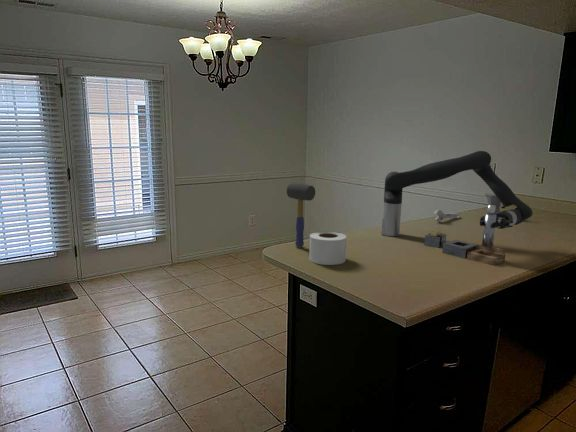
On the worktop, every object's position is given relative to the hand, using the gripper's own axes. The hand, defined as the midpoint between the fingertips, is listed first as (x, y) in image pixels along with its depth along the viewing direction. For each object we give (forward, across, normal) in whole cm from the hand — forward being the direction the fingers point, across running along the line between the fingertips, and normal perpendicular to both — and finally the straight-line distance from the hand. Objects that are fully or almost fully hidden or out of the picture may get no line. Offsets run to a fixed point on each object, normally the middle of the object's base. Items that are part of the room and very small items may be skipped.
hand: (486, 224), depth 185 cm
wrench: (-65, -54, +17) cm, 86 cm away
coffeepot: (-96, -39, +17) cm, 105 cm away
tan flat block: (-10, -28, +16) cm, 33 cm away
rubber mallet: (+49, -64, +16) cm, 82 cm away
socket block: (-2, -12, +16) cm, 20 cm away
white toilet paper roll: (+53, -42, +16) cm, 70 cm away
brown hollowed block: (-2, 0, +16) cm, 16 cm away
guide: (-7, -27, +16) cm, 33 cm away
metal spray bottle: (-3, 0, +10) cm, 10 cm away
